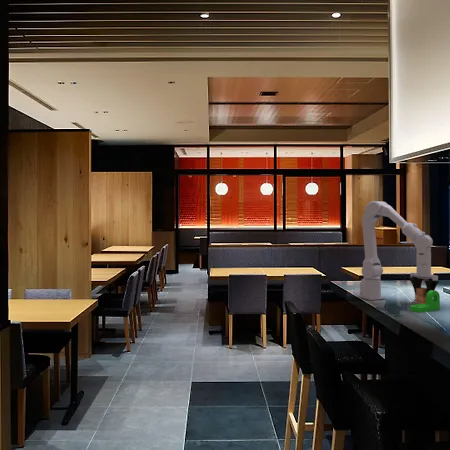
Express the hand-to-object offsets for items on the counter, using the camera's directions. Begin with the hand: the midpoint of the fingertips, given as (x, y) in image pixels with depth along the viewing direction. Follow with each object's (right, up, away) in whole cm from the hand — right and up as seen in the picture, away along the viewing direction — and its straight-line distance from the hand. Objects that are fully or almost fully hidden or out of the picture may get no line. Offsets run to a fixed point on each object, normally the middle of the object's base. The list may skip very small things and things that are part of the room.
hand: (423, 296), depth 215 cm
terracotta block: (0, -3, 0) cm, 3 cm away
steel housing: (+2, -4, +8) cm, 9 cm away
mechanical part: (-5, -4, -11) cm, 13 cm away
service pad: (0, -4, 0) cm, 4 cm away
